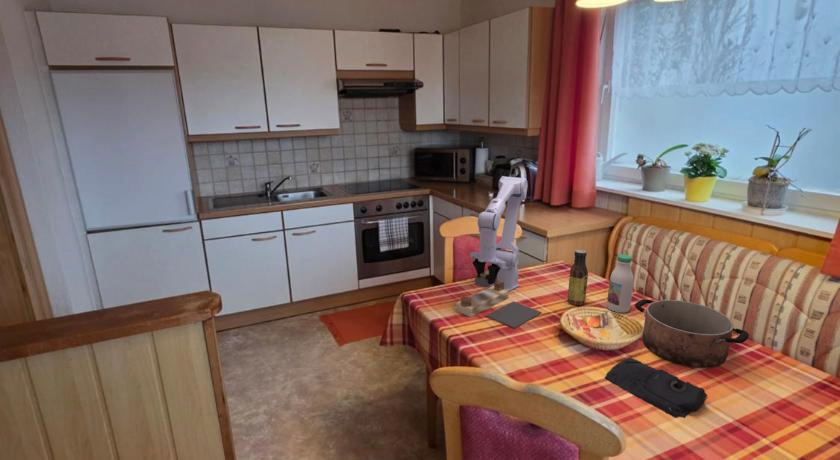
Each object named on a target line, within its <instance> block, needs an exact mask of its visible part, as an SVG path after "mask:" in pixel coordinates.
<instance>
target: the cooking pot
mask: <svg viewBox="0 0 840 460" xmlns="http://www.w3.org/2000/svg"><path fill="white" fill-rule="evenodd" d="M646 304H648V305H647V307H646V310H645V308H644V307H643V306H645V305H646ZM634 307H635V309H636V310H637V311H639V312H640V313H644V324H643V329H642V330H643V331H642V342H643V344H644V346H645V347H646V348H647V349H648V350H649V351H650V352H651V353H652V354H654V355H656V356H657V357H659V358H661V359H663V360H665V361H668V362H670V363H673V364H677V365H679V366H685V367H687V368H688V367H689V368H695V369H710V368H711V369H712V368H716V367H719V366H721V365H722V364H724V363H726V361H727V359H728V355H729V350H730V345H731V343H733V344H743V343H745V342H746V341H747V340H748V339H749V337H750V335H749V332H748V331H746V330H744V329H740V328H734V323H733V321H732V319H730V318H729V317H728V316H727V315H726V314H724V313H722V312H721V311H718V310H716V309H714V308H712V307H709V306H707V305H703V304H701V303H700V304H699V303H695V302H691V301H686V300H678V299H663V300H661V299H660V300H656V301H654V300H652V299H648V298H644V299H640V300H638V301H637V302H635V304H634ZM733 332H735V333H736V334H739V335H738V336H737V337H736V338H735V337H732V336H733Z"/></svg>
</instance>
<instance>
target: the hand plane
mask: <svg viewBox="0 0 840 460" xmlns="http://www.w3.org/2000/svg"><path fill="white" fill-rule="evenodd" d="M509 295H510V291H508V290H505V289H504V282H503V281H501V280H498V281H497V283H495V284H494V286H492V287H490V286H489V287H488V288H484V290H481V291H479V292H476V293H475V294H473V295H470V296H467V295H466V296H462V297H460V300H459V301H457V302H455V311H456V312H458V313H461V314H462V315H465V316H467V317H470V318H473V317H474V316H475V315H478V314H480V313H482V312H484V311H486V310H488V309H490V308H492V307H494V306H496V305H498V304H500V303H501V302H504V301H505V300H507V299H509V297H510V296H509Z"/></svg>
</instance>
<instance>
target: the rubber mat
mask: <svg viewBox="0 0 840 460" xmlns="http://www.w3.org/2000/svg"><path fill="white" fill-rule="evenodd" d="M541 314H542V311H539V310H537V309H535V308H531V307H529V306H526V305H523V304H521V303H519V302H516V301H512V302H509V303H507V304H505V305H504V306H502V307H500V308H498V309H495V310H494V311H492V312H490V313H488V314H486V315H485V318H488V319H491V320H493V321H495V322H498V323H500V324H502V325H505V326H507V327H510V328H512V329H514V330H515V329H517V328H519V327H520V326H522V325H524V324H525V323H528V322H529V321H531V320H533V319H534V318H537V317H538V316H540V315H541Z"/></svg>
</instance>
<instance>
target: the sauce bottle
mask: <svg viewBox="0 0 840 460" xmlns="http://www.w3.org/2000/svg"><path fill="white" fill-rule="evenodd" d="M587 255H588V254H587V251H586V250H584V249H575V250H574V260H573V261H574V263H573V264H572V265H571V267H570V272H569V279H568V280H569V281H568V292H567V301H568V303H569V304H571V305H574V306H582V305H585V303H586V300H587V299H586V298H587V289H588V280H589V279H588V278H589V272H588V268H587V264H586V258H587Z"/></svg>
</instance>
